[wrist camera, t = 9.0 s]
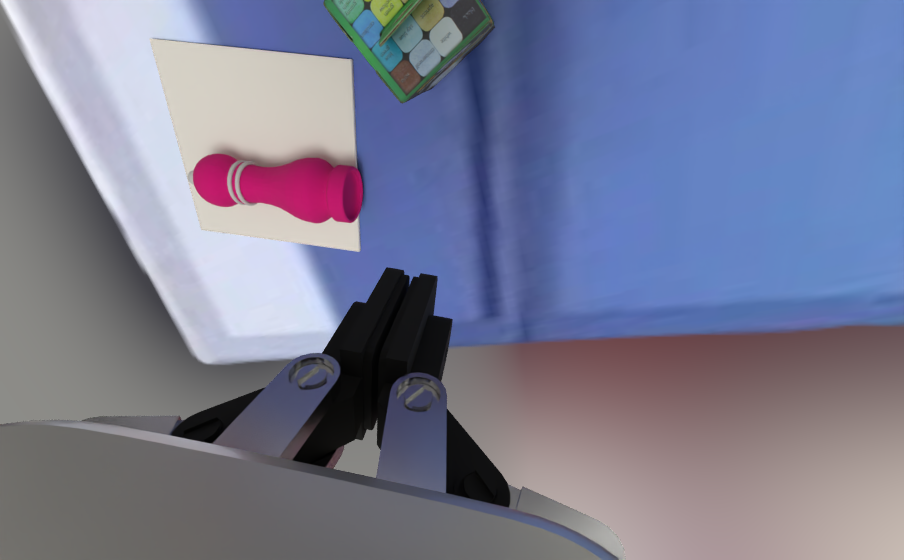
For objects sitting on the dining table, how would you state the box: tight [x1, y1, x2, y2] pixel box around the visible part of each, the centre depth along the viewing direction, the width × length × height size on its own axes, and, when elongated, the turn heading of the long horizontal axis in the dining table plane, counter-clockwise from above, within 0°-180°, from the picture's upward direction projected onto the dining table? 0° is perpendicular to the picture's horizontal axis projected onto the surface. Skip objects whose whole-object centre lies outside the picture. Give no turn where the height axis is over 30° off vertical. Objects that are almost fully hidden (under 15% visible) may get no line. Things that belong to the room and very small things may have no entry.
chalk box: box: [324, 0, 495, 103], centre depth 31 cm, size 9×9×15 cm
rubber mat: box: [150, 39, 361, 252], centre depth 46 cm, size 22×22×1 cm
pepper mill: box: [188, 154, 363, 223], centre depth 44 cm, size 7×7×20 cm
